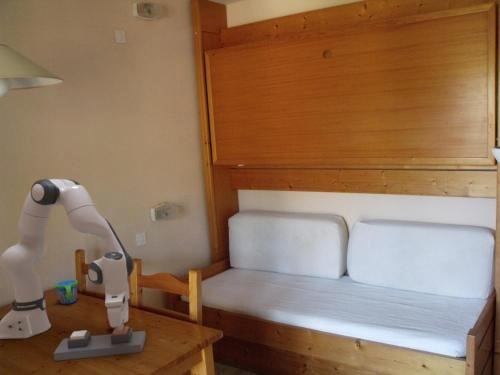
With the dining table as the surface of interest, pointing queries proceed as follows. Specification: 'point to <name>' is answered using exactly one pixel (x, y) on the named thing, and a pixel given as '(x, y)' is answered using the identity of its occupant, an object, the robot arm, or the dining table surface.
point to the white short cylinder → (126, 317)
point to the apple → (109, 323)
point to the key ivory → (79, 335)
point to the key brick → (123, 332)
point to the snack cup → (67, 291)
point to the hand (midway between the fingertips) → (121, 329)
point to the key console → (100, 345)
